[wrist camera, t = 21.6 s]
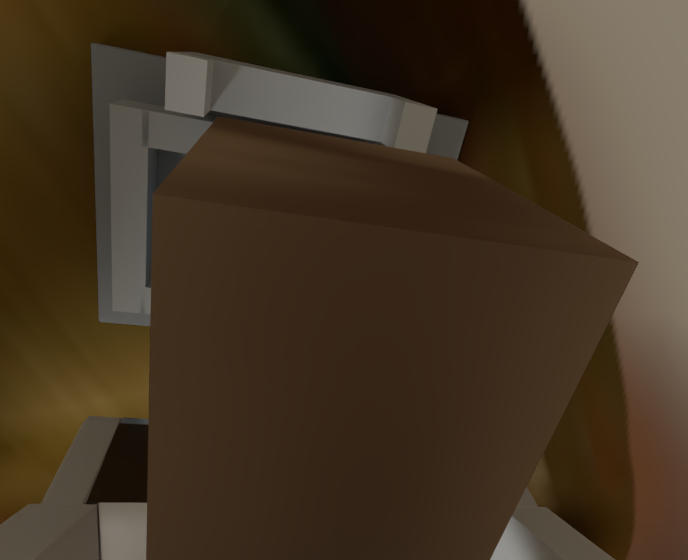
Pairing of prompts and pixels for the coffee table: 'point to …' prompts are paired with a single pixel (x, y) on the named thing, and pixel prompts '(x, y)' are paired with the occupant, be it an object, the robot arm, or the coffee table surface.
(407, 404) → the tan cardboard carton
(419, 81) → the coffee table surface
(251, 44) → the coffee table surface
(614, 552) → the coffee table surface
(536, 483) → the coffee table surface
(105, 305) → the jig
